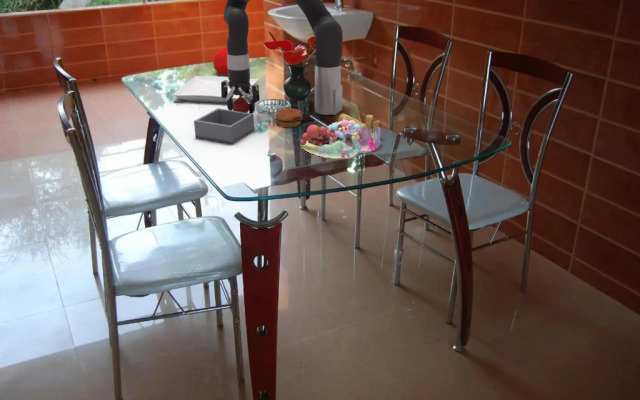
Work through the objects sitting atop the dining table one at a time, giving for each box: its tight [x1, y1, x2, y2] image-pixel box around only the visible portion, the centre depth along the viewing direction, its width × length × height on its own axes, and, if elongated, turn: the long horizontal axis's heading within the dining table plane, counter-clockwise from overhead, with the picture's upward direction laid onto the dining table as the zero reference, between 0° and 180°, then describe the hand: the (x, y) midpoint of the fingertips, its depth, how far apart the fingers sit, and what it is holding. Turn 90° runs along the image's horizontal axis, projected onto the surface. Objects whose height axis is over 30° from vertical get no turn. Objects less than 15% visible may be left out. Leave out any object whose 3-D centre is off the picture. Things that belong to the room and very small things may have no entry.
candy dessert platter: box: [300, 113, 382, 160], centre depth 203 cm, size 25×24×9 cm
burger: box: [274, 107, 304, 129], centre depth 222 cm, size 10×10×5 cm
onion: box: [232, 96, 249, 113], centre depth 226 cm, size 6×6×8 cm
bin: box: [193, 107, 255, 146], centre depth 212 cm, size 14×14×6 cm
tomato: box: [212, 46, 228, 76], centre depth 277 cm, size 13×13×13 cm
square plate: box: [172, 75, 260, 104], centre depth 252 cm, size 27×27×4 cm
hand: (241, 111), depth 227 cm, fingers open, 8 cm apart
